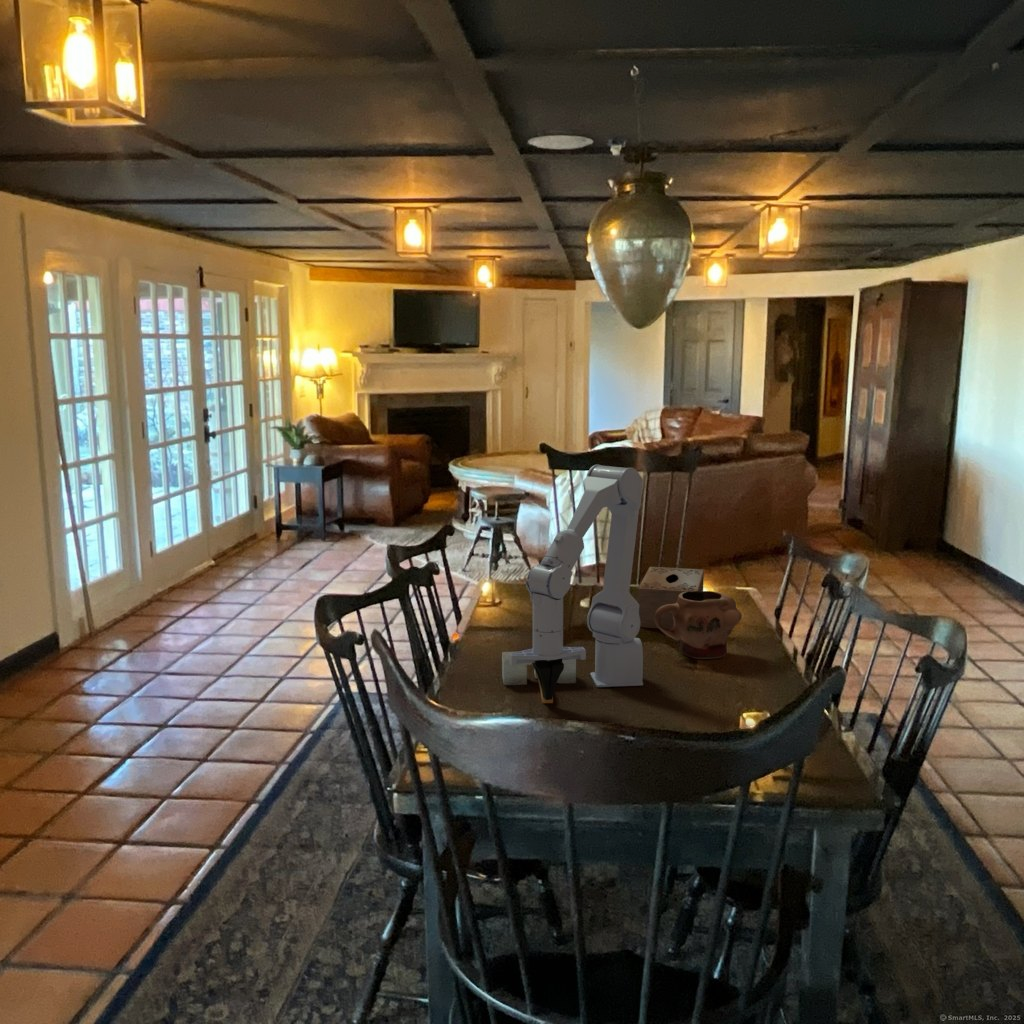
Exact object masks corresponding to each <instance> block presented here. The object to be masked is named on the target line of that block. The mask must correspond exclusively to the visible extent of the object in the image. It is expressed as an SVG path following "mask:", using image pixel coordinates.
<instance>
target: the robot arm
mask: <svg viewBox="0 0 1024 1024" xmlns="http://www.w3.org/2000/svg"><path fill="white" fill-rule="evenodd" d="M582 483H583V484H582V485H583V492H584V493H583V495H582V496H581V497H580V498H581V499H580V500H579V502H578V505H577V507H576V509H575V511H574V514H573V516H572V518H571V520H570V522H569V524H568V526H567V528H566V529H565V530H564V529H563V530H562V531H559V532H557V534H556V535H555V537H554V539H553V541H552V543H551V544H550V546H549V547H548V550H547V551H546V553H545V555H544V556H543V559H542V560H541V561H540V563H539V564H536V565H535V566H534V567H532V568H531V569H530V570H529V572H528V574H527V577H526V579H525V587H526V590H527V591H528V594H529V600H530V603H532V648H527V649H524V650H519V651H511V652H512V653H509V663H510V664H511V665H512V666H514V665H517V664H523V663H532V664H531V665H532V666H533V669H534V668H535V671H536V673H537V675H538V678H539V681H540V684H541V688H542V694H543V697H544V699H545V700H552V697H553V698H554V692H555V689H556V686H557V684H556V683H557V680H558V678H559V676H560V674H561V673H562V671H563V669H564V664H563V663H562V660H570V659H576V660H581V661H582V660H583V661H584V660H586V659H587V656H586V655H587V650H586V648H585V647H583V646H564V597H565V596H566V594H567V593H569V592H568V591H570V588H571V583H572V582H571V581H572V576H573V569H574V566H575V565H576V564H577V561H578V559H579V558H580V556H581V554H582V553H583V551H584V549H585V543H584V536H585V535H586V534H587V532H588V531H589V529H590V528H591V527H592V525H593V524H594V522H595V520H596V519H597V517H598V516H599V515H600V513H601V511H602V510H603V508H607V509H608V510H609V512H610V514H611V517H610V523H609V524H610V526H609V532H608V542H607V543H608V544H607V549H606V559H605V560H606V561H605V567H604V575H603V584H602V585H603V586H602V590H600V591H599V592H598V593H597V594H595V595H593V596H592V600H591V606H590V608H589V609H588V613H587V617H586V625H587V628H588V629H589V631H590V632H591V633H592V638H595V640H594V641H595V645H594V646H595V649H594V650H595V653H594V654H595V655H594V656H595V657H594V659H595V661H594V666H595V667H594V671H592V672H590V677H591V679H592V681H593V682H594V684H595V687H597V688H611V687H614V688H615V687H638V686H639V687H641V686H644V681H643V679H644V678H643V673H644V672H643V669H644V668H643V666H644V665H643V662H644V652H643V649H644V648H643V644H642V641H641V638H639V637H637V635H638V634H639V632H640V629H641V627H640V617H639V604H638V602H637V599H636V598H635V597H633V595H632V594H631V593H630V590H631V589H630V588H631V582H632V572H633V564H634V556H635V555H634V554H635V547H636V540H637V539H636V538H637V530H638V523H639V522H638V520H639V512H640V509H641V502H642V493H643V485H644V479H643V478H642V476H641V474H640V473H639V471H638V470H637V469H636V468H634V467H620V466H619V467H618V466H610V465H601V464H594V465H592V466H591V467H590V468H589V470H588V471H587V473H586V476H585V478H584V479H583V481H582ZM539 681H538V682H539Z"/></svg>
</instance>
